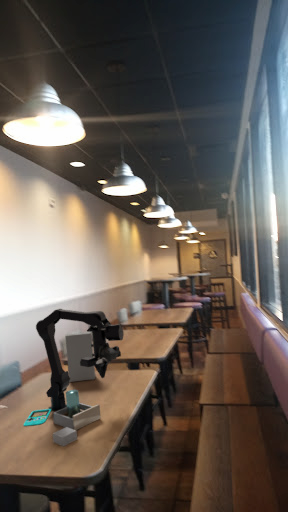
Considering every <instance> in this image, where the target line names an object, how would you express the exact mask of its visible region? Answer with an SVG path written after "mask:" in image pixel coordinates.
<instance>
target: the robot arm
mask: <svg viewBox="0 0 288 512" xmlns="http://www.w3.org/2000/svg"><path fill="white" fill-rule="evenodd" d="M60 320H65V321H74V322H82V323H84V324H85V325H87V326H89V327H88V329H87V330H86V332H91V335H92V344H91V347H93V354H92V356H93V357H94V358H92V357H86V358H83V359H81V360H80V366H84V367H91V366H94V368H95V369H96V371H97V372H98V375H99V376H100V378H101V379H105V376H106V373H107V368H108V365H109V364H110V363H111V362H112V361H114V360H117V358H120V357H121V356H122V354H121V353H122V352H121V350H120V347H119V346H118V345H115V346H112V347H110V343H109V341H110V342H112V341H113V342H114V341H116V342H117V341H122V340H124V330H123V327H122V325H121V323H117V324H112V323H111V322H110V320H109V319H108V318H107V317H106V314H105V313H104V311H101V310H95V311H86V312H85V311H78V310H71V309H70V310H69V309H63V308H57V309H55V310H53V311H52V312H51V313H50V314H48V315H47V316H45V318H43V319H41V320H38V321H37V323H36V324H35V330H36V333H37V334H38V336H39V337H40V338H41V339H42V341H43V344H44V348H45V351H46V355H47V356H46V357H47V359H48V364H49V367H50V372H51V374H50V379H49V380H50V387H49V388H48V389H47V391H46V392H45V393H46V396H47V398H50V406H48V408H47V409H51V411H53V412H56V411H58V410H61V409H63V408H65V407H67V403H66V394H65V393H64V392H65V391H66V392H67V388H68V387H69V385H70V383H71V382H70V377H69V371H68V370H64V369H63V365H62V362H61V358H60V355H59V354H60V353H59V351H58V347H57V342H56V338H55V335H56V324H57V323H59V321H60ZM107 341H108V342H107Z"/></svg>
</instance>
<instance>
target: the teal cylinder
mask: <svg viewBox="0 0 288 512" xmlns="http://www.w3.org/2000/svg"><path fill="white" fill-rule="evenodd" d="M65 403H66V405H67V412H68V417H70V418H73V416H74V415H76V414H78V413H80V404H79V403H80V395H79V390H78V389H71V390H66V392H65Z"/></svg>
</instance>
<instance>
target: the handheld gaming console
mask: <svg viewBox="0 0 288 512" xmlns="http://www.w3.org/2000/svg"><path fill="white" fill-rule="evenodd" d="M45 412H46V414H44V413H45ZM34 413H39V415H38V414H37V415H34ZM51 413H52V410H51V409H48V408H45V409H36V410H33V411H31V412H30V414H29V415H28V417H27V418H26V419H25V421H24V423H23V427H31V426H40V425H42V424H44V423H46V421H47V420H48V417H49V416H50V414H51Z"/></svg>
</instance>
